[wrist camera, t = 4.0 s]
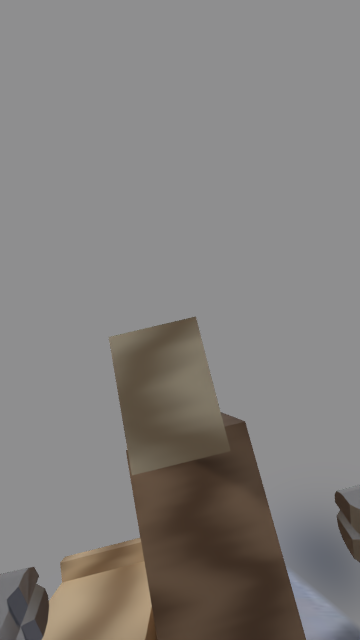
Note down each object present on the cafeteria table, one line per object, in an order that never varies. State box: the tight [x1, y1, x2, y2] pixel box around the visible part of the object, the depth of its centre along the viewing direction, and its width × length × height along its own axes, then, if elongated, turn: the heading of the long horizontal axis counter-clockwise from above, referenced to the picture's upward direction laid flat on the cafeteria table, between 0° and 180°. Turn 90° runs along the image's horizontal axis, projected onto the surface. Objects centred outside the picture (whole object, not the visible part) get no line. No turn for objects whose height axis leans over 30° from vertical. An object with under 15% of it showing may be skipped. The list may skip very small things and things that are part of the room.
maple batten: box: [109, 317, 230, 475], centre depth 20 cm, size 4×20×5 cm, turn 178°
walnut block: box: [126, 413, 306, 640], centre depth 22 cm, size 8×17×26 cm, turn 178°
